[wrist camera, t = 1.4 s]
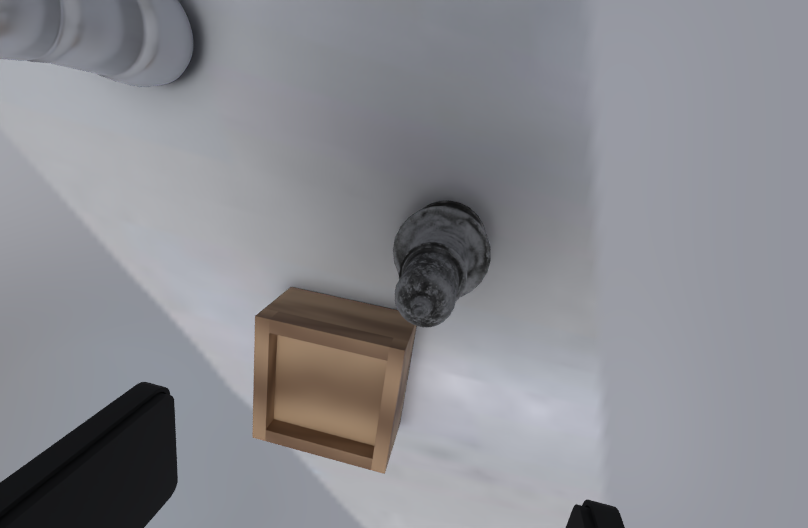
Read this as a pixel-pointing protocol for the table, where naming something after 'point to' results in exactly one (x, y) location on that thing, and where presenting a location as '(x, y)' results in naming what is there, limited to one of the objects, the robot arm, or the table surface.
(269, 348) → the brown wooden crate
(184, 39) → the plastic bottle
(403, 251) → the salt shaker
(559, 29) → the table surface
